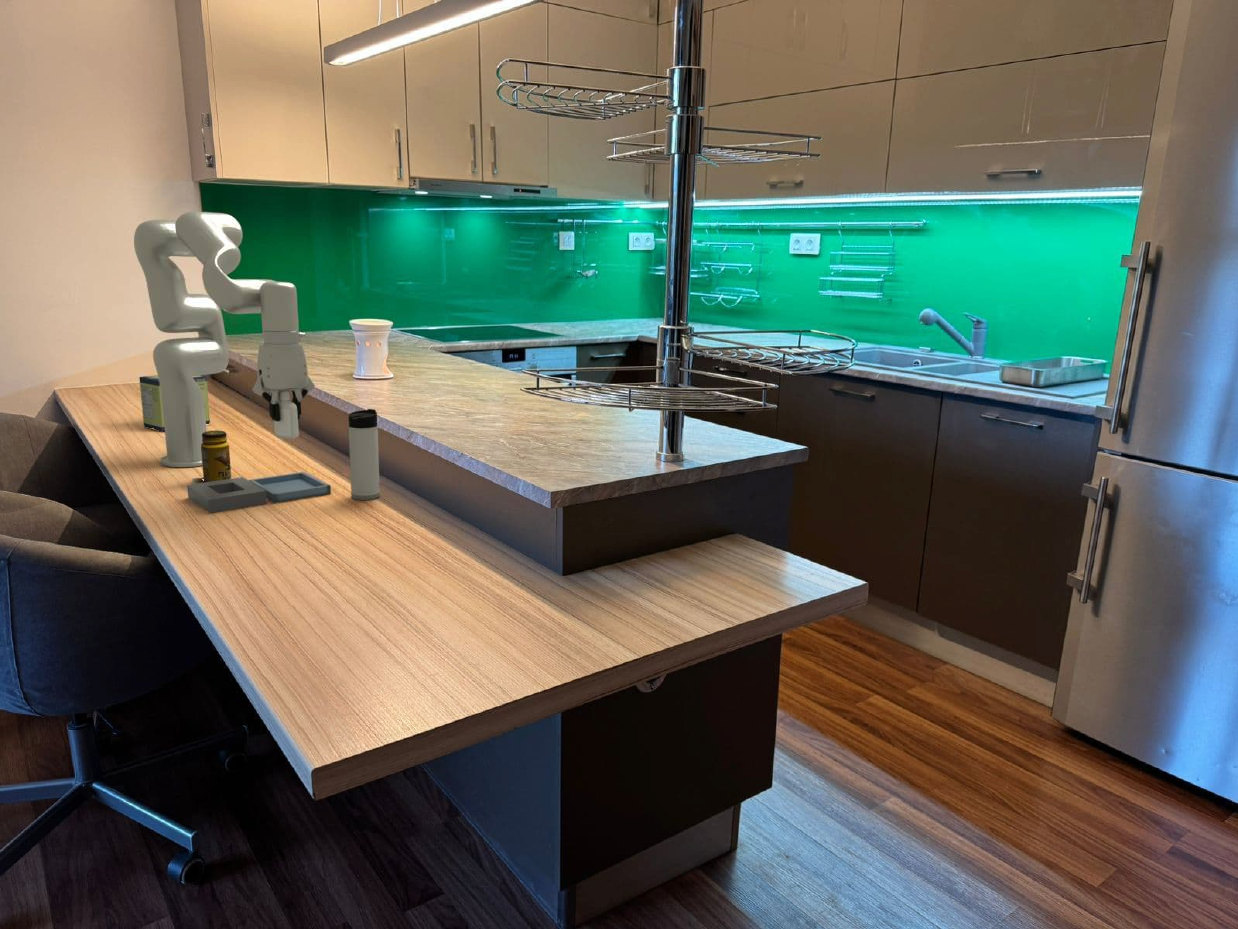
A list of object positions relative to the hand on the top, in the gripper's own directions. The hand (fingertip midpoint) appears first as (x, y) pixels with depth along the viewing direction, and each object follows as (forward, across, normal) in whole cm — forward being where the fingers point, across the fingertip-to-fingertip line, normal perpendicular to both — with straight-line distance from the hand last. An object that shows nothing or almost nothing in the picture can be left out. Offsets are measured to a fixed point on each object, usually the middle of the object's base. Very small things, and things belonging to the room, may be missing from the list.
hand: (285, 418), depth 193 cm
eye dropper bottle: (+4, 0, 0) cm, 4 cm away
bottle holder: (+17, +14, 0) cm, 22 cm away
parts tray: (+17, 0, 0) cm, 17 cm away
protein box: (+17, -1, -87) cm, 89 cm away
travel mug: (+17, -12, +14) cm, 25 cm away
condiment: (+17, +11, -18) cm, 27 cm away
